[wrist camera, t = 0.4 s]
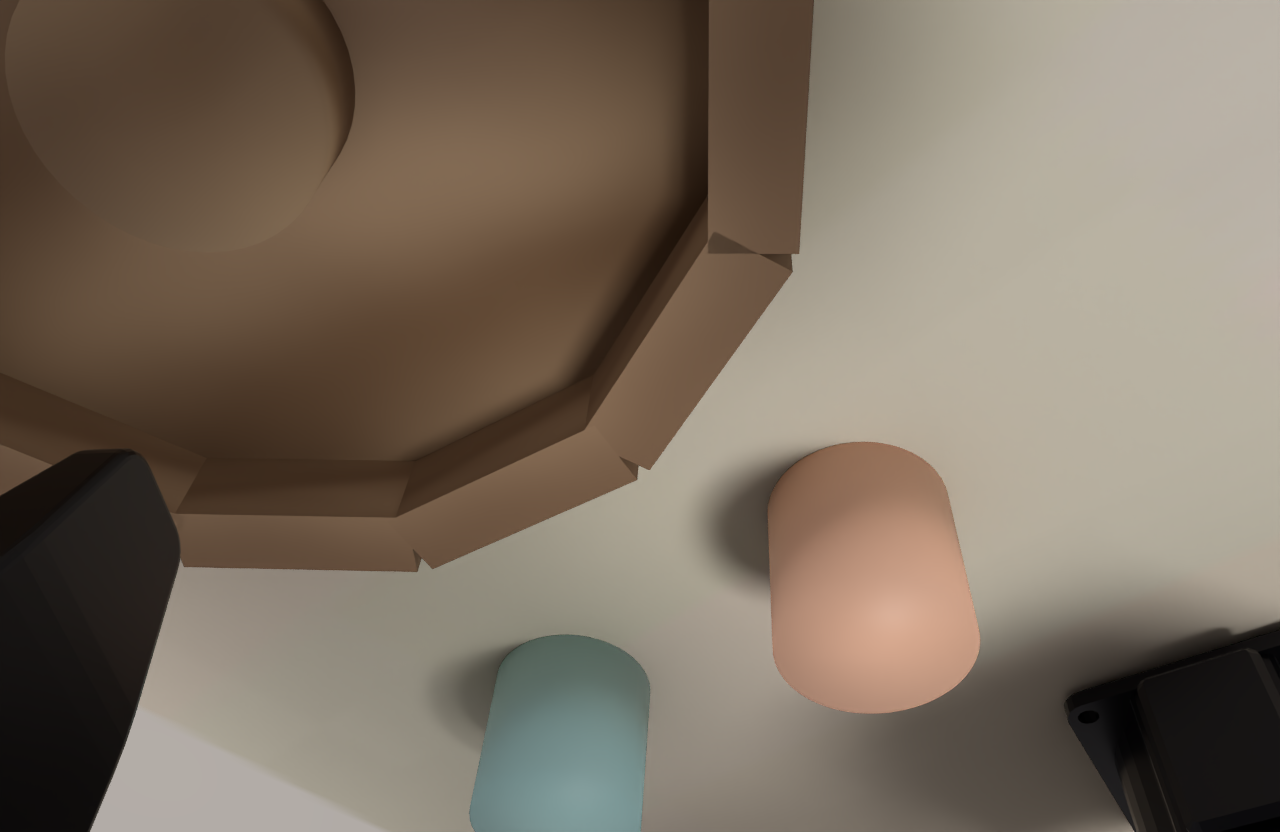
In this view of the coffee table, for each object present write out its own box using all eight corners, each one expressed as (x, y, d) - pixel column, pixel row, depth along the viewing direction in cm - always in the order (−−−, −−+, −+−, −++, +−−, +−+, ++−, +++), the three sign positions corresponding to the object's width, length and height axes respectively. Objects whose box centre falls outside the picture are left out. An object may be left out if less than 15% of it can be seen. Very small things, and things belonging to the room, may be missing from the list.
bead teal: (678, 708, 30) (672, 845, 27) (553, 751, 32) (533, 886, 28) (595, 614, 28) (579, 750, 25) (466, 665, 30) (434, 799, 27)
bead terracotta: (976, 538, 26) (1011, 676, 23) (817, 596, 27) (828, 734, 24) (903, 414, 24) (930, 546, 21) (735, 484, 26) (736, 618, 22)
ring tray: (986, 241, 22) (1014, 315, 19) (217, 598, 29) (177, 680, 27) (242, -1269, 12) (140, -1442, 10) (-640, -158, 19) (-807, -122, 17)
